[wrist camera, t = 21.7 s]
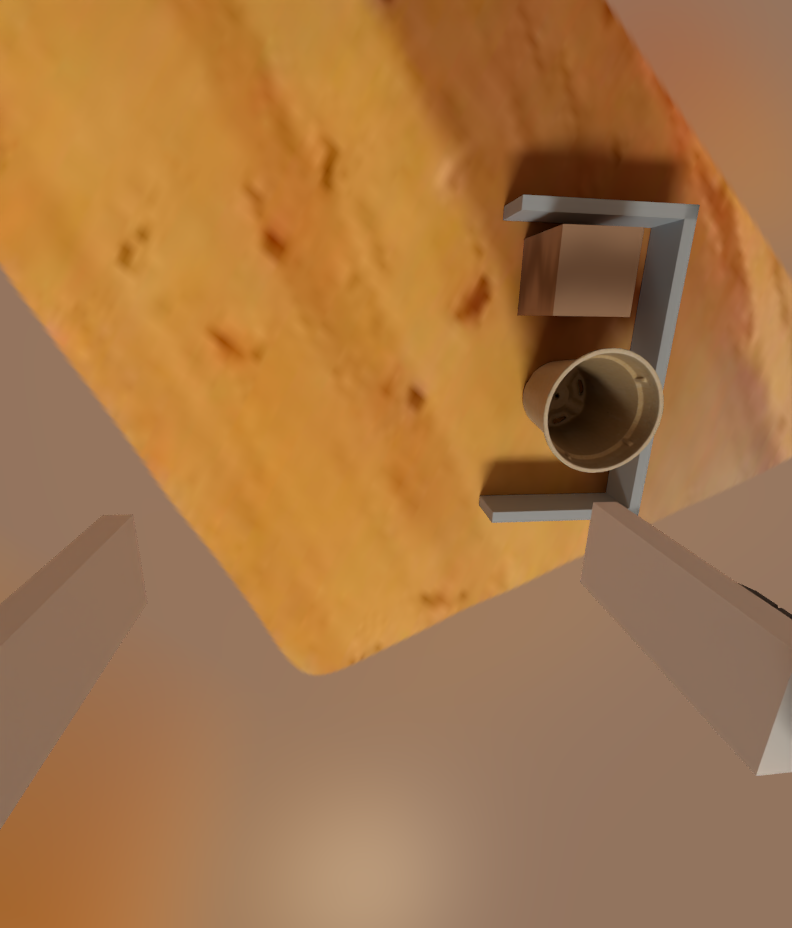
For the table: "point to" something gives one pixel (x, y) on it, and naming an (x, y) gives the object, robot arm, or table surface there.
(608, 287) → the walnut block
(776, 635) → the robot arm
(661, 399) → the flower pot
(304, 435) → the table surface
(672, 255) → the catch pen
